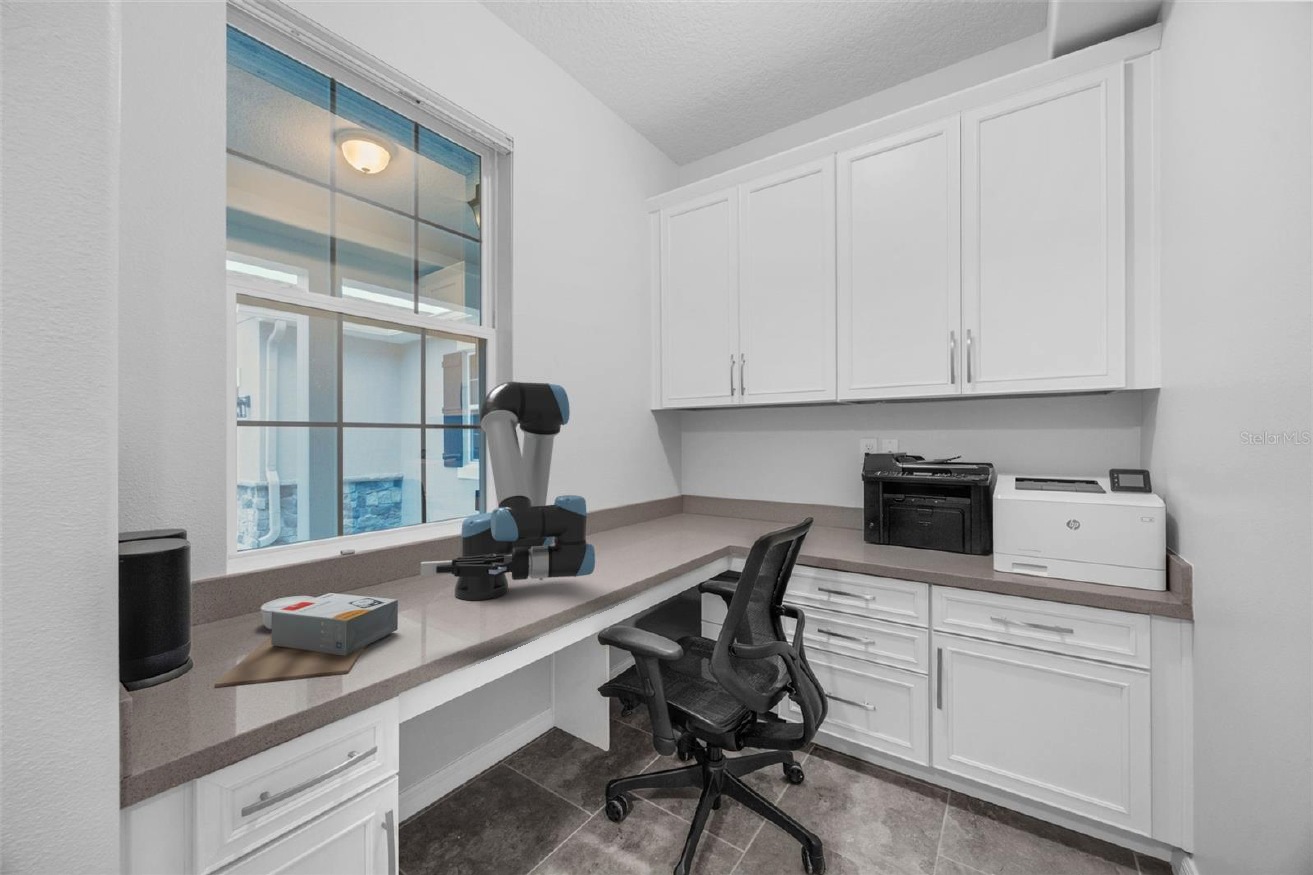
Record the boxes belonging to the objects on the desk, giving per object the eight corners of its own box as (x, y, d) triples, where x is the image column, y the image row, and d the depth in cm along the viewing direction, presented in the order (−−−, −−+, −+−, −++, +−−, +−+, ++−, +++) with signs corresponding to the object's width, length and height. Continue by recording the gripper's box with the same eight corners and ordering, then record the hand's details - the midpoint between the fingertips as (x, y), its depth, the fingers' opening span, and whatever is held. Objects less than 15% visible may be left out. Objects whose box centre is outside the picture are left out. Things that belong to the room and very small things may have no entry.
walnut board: (377, 629, 125) (377, 626, 125) (348, 673, 102) (348, 670, 102) (271, 638, 119) (271, 635, 119) (214, 687, 96) (214, 684, 96)
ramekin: (270, 635, 121) (270, 613, 121) (253, 625, 127) (253, 604, 127) (323, 621, 130) (323, 601, 130) (304, 612, 136) (304, 592, 136)
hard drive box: (346, 620, 108) (269, 612, 113) (346, 656, 108) (269, 647, 113) (399, 598, 123) (329, 592, 128) (398, 630, 123) (329, 623, 128)
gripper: (530, 586, 117) (416, 594, 110) (527, 571, 129) (425, 577, 123) (530, 553, 117) (416, 559, 110) (528, 541, 129) (425, 545, 122)
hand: (421, 568), depth 116 cm, fingers closed
